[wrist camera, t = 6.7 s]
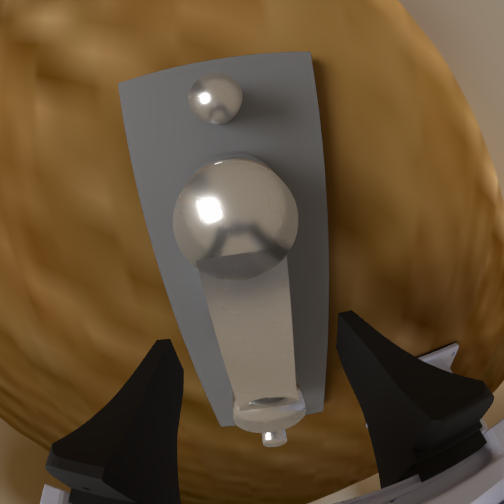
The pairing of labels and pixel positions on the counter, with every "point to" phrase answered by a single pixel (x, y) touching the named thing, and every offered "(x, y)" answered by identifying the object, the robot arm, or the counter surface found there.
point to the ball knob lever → (246, 281)
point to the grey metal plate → (244, 141)
